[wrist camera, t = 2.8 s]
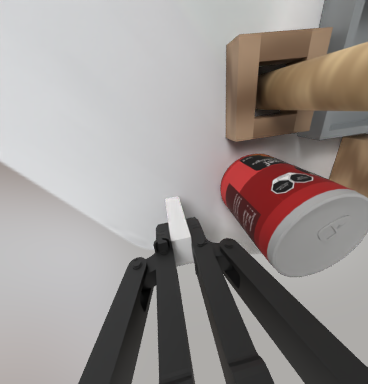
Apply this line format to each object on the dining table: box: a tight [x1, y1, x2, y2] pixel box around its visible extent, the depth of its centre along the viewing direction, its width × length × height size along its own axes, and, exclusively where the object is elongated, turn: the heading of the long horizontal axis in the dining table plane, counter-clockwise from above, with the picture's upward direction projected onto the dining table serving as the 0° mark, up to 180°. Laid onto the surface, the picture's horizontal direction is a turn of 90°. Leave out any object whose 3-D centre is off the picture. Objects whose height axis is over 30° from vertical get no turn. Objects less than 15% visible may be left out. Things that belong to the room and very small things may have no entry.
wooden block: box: [329, 134, 368, 198], centre depth 21 cm, size 8×3×5 cm, turn 6°
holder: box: [226, 27, 333, 142], centre depth 16 cm, size 8×8×2 cm
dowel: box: [255, 42, 368, 111], centre depth 11 cm, size 3×3×15 cm
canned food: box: [221, 154, 368, 277], centre depth 17 cm, size 8×8×11 cm
